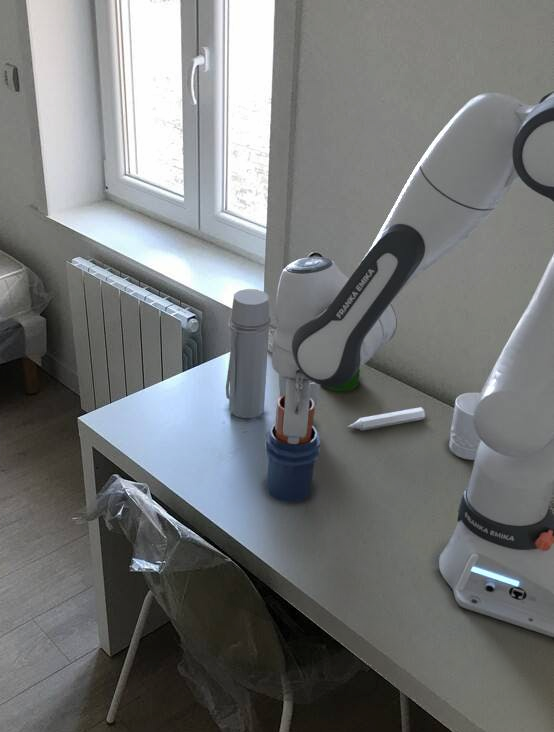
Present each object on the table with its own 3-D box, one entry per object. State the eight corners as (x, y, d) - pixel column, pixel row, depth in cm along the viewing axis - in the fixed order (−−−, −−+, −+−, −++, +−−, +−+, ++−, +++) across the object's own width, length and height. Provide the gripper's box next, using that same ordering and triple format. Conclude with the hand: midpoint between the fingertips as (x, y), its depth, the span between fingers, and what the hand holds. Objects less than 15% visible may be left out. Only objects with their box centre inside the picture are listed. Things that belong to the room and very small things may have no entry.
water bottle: (245, 396, 174) (251, 284, 160) (273, 412, 169) (281, 297, 155) (212, 412, 170) (214, 298, 155) (239, 429, 164) (245, 313, 150)
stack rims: (328, 446, 145) (330, 434, 144) (300, 473, 139) (301, 460, 138) (284, 429, 150) (285, 417, 148) (255, 453, 144) (256, 441, 143)
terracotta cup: (315, 450, 145) (321, 401, 139) (297, 467, 141) (302, 417, 136) (285, 437, 148) (290, 389, 143) (266, 454, 145) (270, 404, 139)
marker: (345, 434, 164) (419, 419, 167) (349, 434, 162) (425, 419, 165) (343, 420, 163) (418, 405, 166) (347, 421, 161) (423, 406, 164)
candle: (337, 366, 183) (342, 325, 177) (366, 382, 177) (372, 340, 172) (309, 379, 179) (313, 337, 173) (338, 395, 173) (343, 352, 168)
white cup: (464, 432, 162) (474, 387, 156) (499, 452, 156) (511, 406, 151) (436, 446, 158) (446, 401, 152) (471, 467, 153) (482, 421, 147)
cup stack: (319, 485, 150) (326, 429, 143) (296, 508, 145) (301, 451, 138) (281, 469, 154) (286, 414, 147) (257, 490, 149) (261, 434, 142)
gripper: (320, 392, 125) (312, 467, 133) (320, 327, 142) (313, 397, 150) (277, 389, 126) (271, 464, 134) (282, 325, 143) (277, 394, 151)
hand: (293, 428), depth 142 cm, fingers closed on terracotta cup, 6 cm apart
